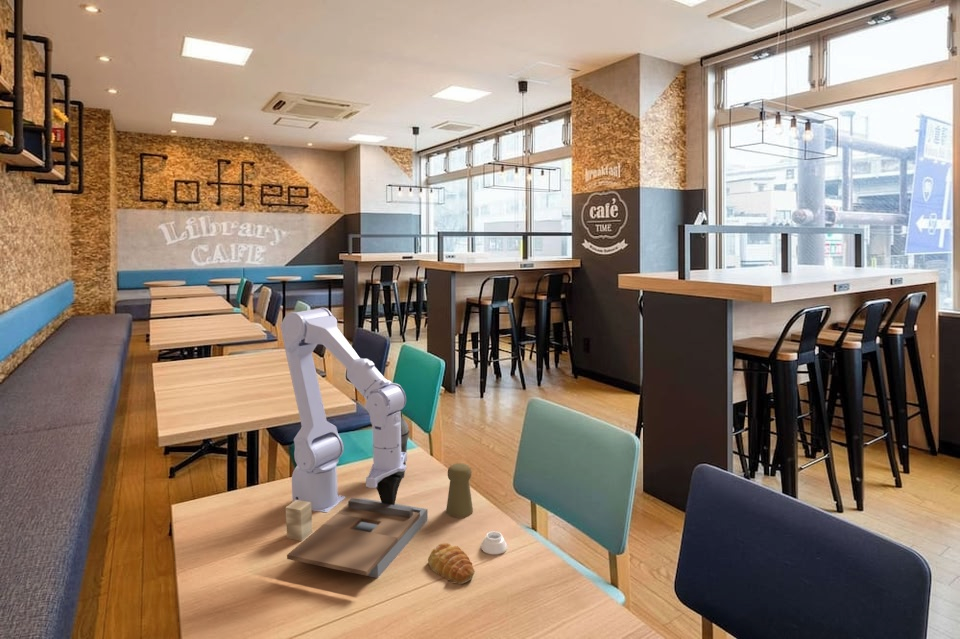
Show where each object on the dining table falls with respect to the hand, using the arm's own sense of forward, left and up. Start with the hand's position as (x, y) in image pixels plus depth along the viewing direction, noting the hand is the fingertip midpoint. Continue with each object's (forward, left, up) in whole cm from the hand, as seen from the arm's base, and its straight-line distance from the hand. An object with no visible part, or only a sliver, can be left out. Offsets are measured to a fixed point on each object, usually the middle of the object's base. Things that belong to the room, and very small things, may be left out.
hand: (388, 506), depth 123 cm
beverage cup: (-10, +23, -5) cm, 26 cm away
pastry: (+18, -10, -5) cm, 21 cm away
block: (-15, -10, -4) cm, 18 cm away
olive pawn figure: (+12, +10, -5) cm, 16 cm away
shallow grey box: (-1, -7, -4) cm, 8 cm away
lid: (-1, -11, -1) cm, 11 cm away
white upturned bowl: (+23, -1, -5) cm, 24 cm away
